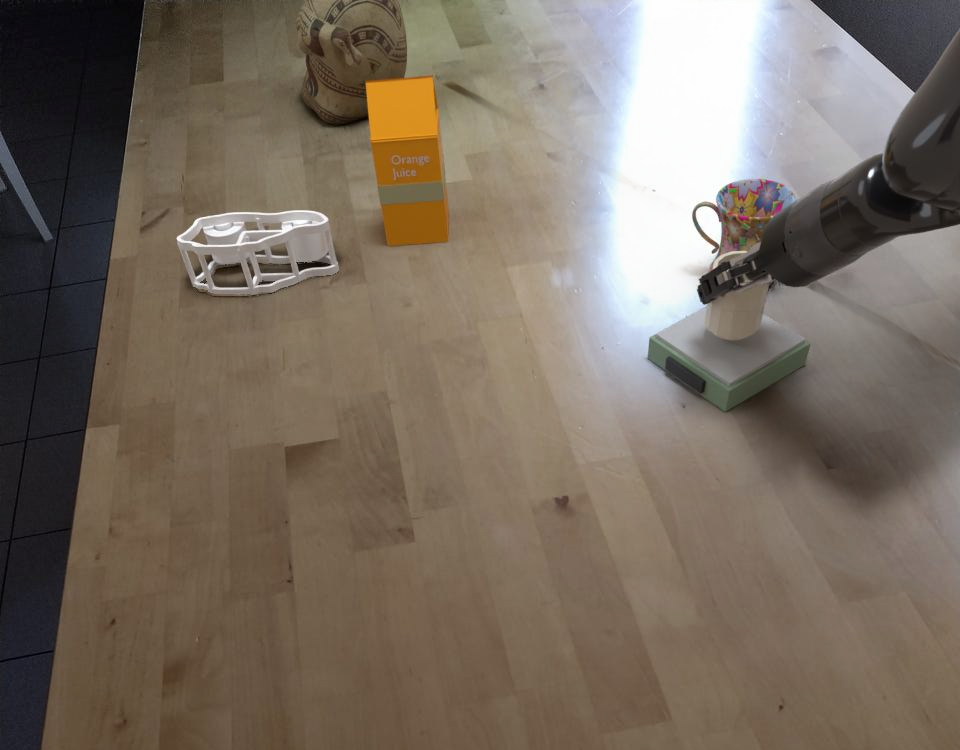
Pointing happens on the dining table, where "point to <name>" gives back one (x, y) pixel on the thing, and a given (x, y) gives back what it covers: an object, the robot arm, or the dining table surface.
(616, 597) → the dining table surface
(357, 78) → the ceramic vessel
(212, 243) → the white lattice frame
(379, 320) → the dining table surface
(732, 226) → the mug
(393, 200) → the orange juice
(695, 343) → the scale
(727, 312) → the pen cup
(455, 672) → the dining table surface
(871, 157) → the robot arm
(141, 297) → the dining table surface
